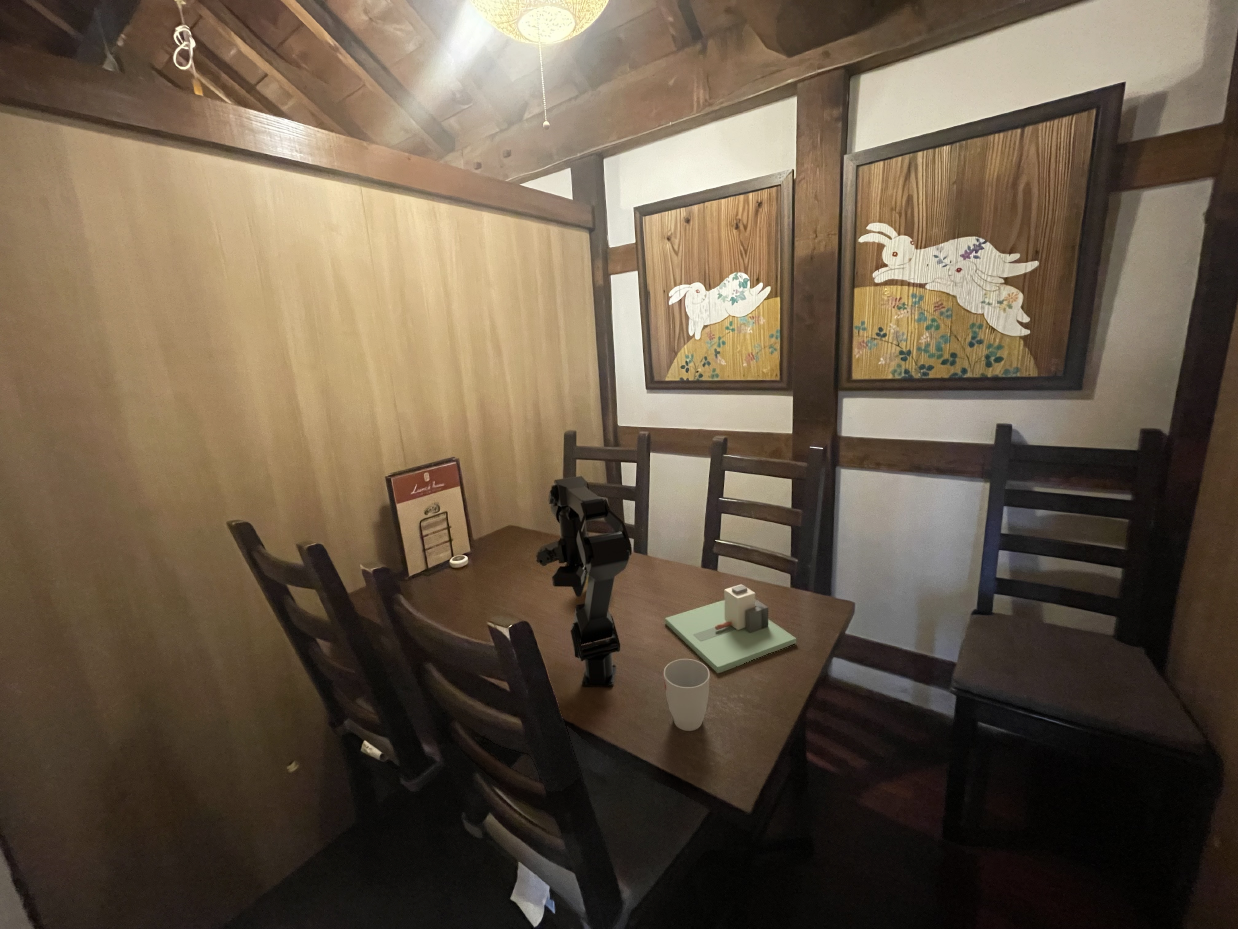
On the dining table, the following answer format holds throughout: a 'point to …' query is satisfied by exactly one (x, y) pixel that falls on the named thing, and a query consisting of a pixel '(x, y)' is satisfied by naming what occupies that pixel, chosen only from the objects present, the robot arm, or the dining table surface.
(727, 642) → the board
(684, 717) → the cup
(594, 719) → the dining table surface
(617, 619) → the dining table surface
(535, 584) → the dining table surface
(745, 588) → the plug
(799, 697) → the dining table surface
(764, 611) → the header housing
